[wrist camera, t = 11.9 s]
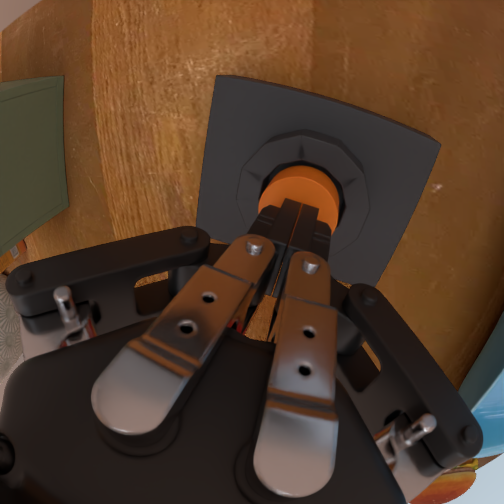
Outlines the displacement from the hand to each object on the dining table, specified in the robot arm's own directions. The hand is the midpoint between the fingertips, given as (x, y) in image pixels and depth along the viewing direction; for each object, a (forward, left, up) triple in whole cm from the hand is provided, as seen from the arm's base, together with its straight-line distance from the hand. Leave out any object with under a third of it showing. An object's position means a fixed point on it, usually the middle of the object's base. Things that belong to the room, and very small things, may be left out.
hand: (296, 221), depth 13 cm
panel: (0, 0, -6) cm, 6 cm away
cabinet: (+2, -28, -6) cm, 29 cm away
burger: (+32, +34, -6) cm, 47 cm away
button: (0, 0, -2) cm, 2 cm away
